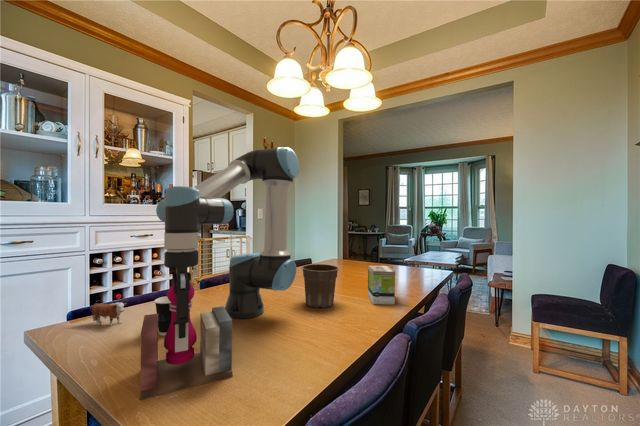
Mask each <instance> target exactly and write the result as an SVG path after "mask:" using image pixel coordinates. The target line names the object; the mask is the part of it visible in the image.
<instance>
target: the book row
mask: <svg viewBox="0 0 640 426" xmlns="http://www.w3.org/2000/svg"><path fill="white" fill-rule="evenodd" d="M199 315H200V317H199V319H200V321H199V322H200V324H199V326H200V328H199V329H200V330H199V332H200V333H199V351H198V352H194V357H193V359H191V360H190V361H188V362H186V363H183V364H176V365H173V364H168V363H167V362H166V358H164V359H161V360H160V359H158V358H159V354H158V353H159V330H158V313H149V314H145V315H144V316H143V321H142V325H141V329H140V378H139V379H140V382H139V383H140V384H139V385H140V386H139V387H140V388H139V391H140V392H139V400H141V401H142V400H144V399H149V398H152V397H156V396H160V395H164V394H169V393H172V392H177V391H180V390H181V391H182V390H184V389H188V388H192V387H196V386H199V385H204V384H207V383H213V382H215V381H220V380H223V379H228V378H232V377H233V375H234V374H233V371H234V370H233V318H231V317H230V316H229V314H228V313H227V311H226V310H225V306H224V305H223V306H222V305H221V306H216V307H212V308H211V311H206V312H200V313H199Z"/></svg>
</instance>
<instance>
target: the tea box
mask: <svg viewBox="0 0 640 426" xmlns="http://www.w3.org/2000/svg"><path fill="white" fill-rule="evenodd" d="M367 267H368V268H367V295H368V296H367V297H368V298H369V299H370V301H371V303H372V305H395V294H396V293H395V291H396V290H395V288H396V286H395V285H396V271H395V270H394V269H392V268H391V267H390V266H388V265H368V266H367Z"/></svg>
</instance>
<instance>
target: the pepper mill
mask: <svg viewBox="0 0 640 426" xmlns="http://www.w3.org/2000/svg"><path fill="white" fill-rule="evenodd" d="M176 289H177V284H176ZM166 294H167V297H168V300H169V301H170V302H171V304H170V311H171V313H172V318H171V324H170V327H169V329H168V331H167V333H166V335H165V336H164V340H163V347H164V348H165V350H166V351H167V352H166V353H165V359H166V362H167V363H168V364H173V365H176V364H183V363H186V362H188V361H190V360H191V359H193V357H194V353H195V347H194V345H195V344H196V342H197V337H198V336H197V332H196V328H195V327H194V325H193V322H192V319H191V309H193V302H192V299H193V298H194V296H195V287H194V286H193V284H191V283H190V291H189V322H188V350H185V351H180V352H175V325H173V322H176V294H175V293H174V285H173V284H172V285H171V286H170V287H169V289H168V290H167V293H166Z"/></svg>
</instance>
